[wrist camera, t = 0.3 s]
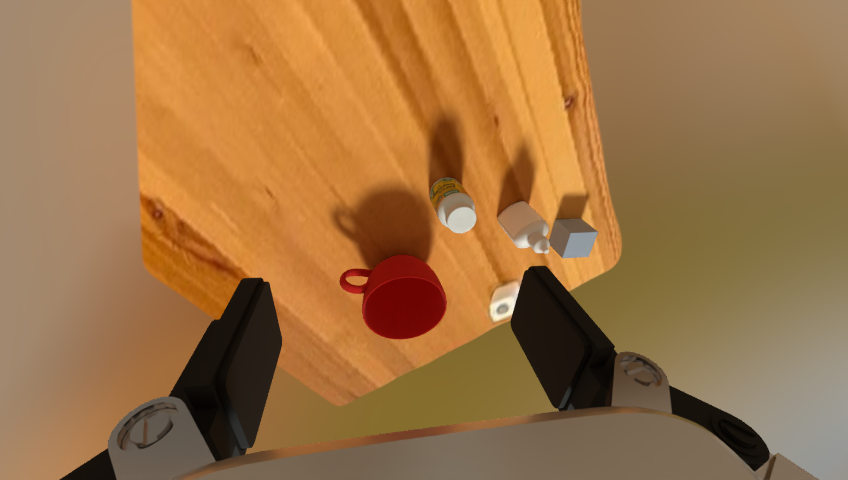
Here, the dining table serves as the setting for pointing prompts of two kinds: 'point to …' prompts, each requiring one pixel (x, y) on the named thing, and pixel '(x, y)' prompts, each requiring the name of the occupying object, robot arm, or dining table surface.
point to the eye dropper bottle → (525, 227)
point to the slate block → (572, 238)
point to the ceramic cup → (399, 297)
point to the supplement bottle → (453, 205)
